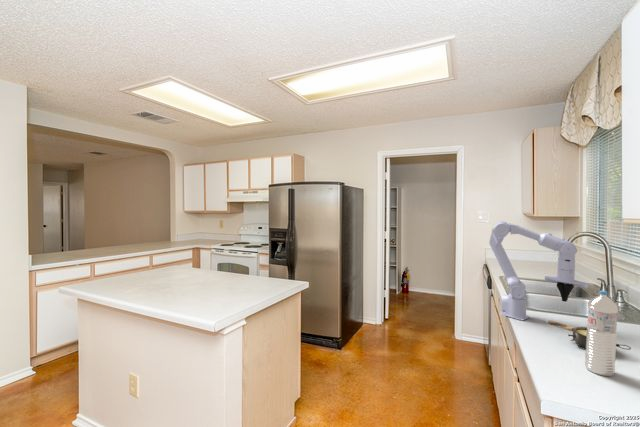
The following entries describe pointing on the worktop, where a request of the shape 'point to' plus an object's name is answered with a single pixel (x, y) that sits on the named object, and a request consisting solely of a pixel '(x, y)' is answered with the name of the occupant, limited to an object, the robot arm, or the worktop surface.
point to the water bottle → (601, 335)
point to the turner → (562, 325)
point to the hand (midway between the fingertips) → (564, 300)
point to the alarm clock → (584, 337)
